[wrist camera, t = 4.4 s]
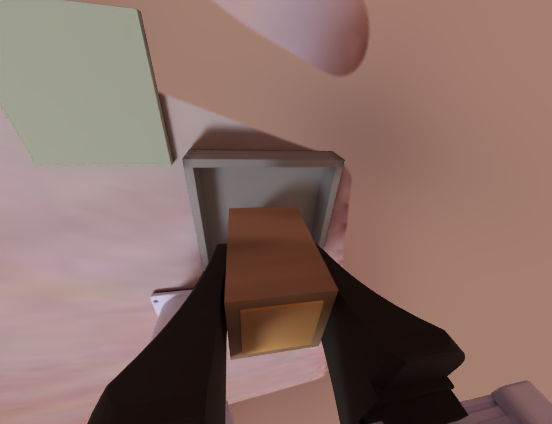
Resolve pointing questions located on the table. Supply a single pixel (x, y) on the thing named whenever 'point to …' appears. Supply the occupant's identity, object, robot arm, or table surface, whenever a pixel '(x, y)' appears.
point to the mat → (80, 84)
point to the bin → (259, 188)
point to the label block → (274, 283)
